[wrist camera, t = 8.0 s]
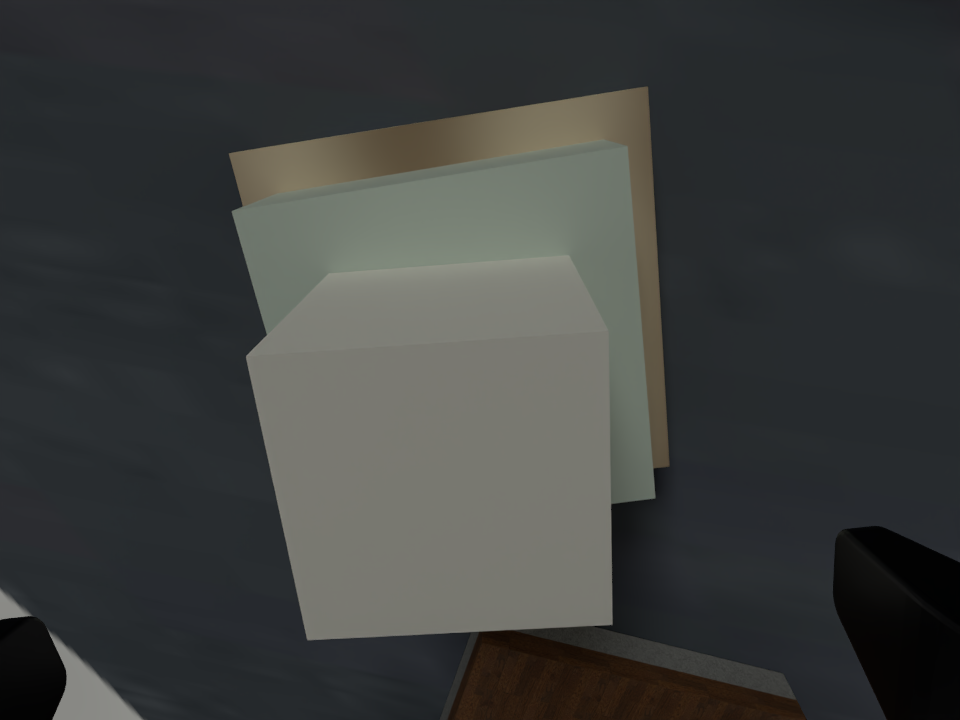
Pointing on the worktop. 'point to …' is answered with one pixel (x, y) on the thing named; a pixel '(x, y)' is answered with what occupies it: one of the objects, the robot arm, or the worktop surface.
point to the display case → (607, 680)
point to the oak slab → (482, 139)
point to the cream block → (442, 449)
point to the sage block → (477, 251)
